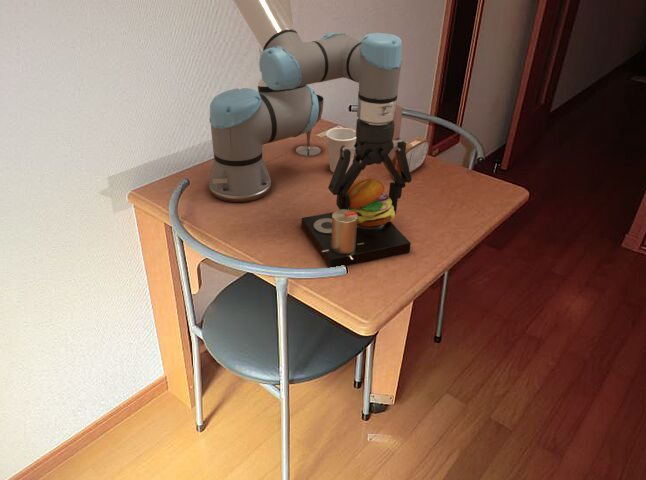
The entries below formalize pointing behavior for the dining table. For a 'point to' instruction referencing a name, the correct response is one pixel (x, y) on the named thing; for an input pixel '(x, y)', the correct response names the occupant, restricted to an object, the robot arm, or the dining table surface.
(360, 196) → the cheeseburger
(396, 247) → the stove
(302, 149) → the wine glass
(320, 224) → the burners
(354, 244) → the stove knob
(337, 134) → the dixie cup
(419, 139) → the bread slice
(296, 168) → the dining table surface
